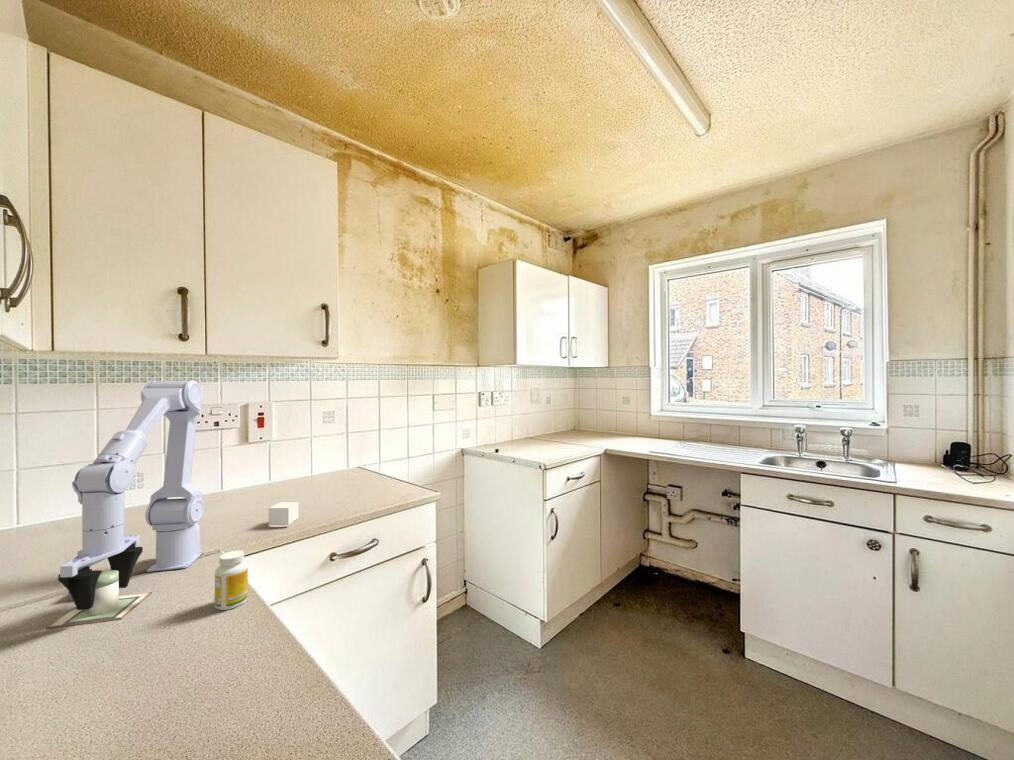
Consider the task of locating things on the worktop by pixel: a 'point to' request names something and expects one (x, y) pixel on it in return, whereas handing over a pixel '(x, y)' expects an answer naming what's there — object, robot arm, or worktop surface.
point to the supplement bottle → (231, 581)
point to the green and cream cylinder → (106, 593)
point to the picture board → (84, 617)
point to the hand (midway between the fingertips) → (103, 597)
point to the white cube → (283, 513)
